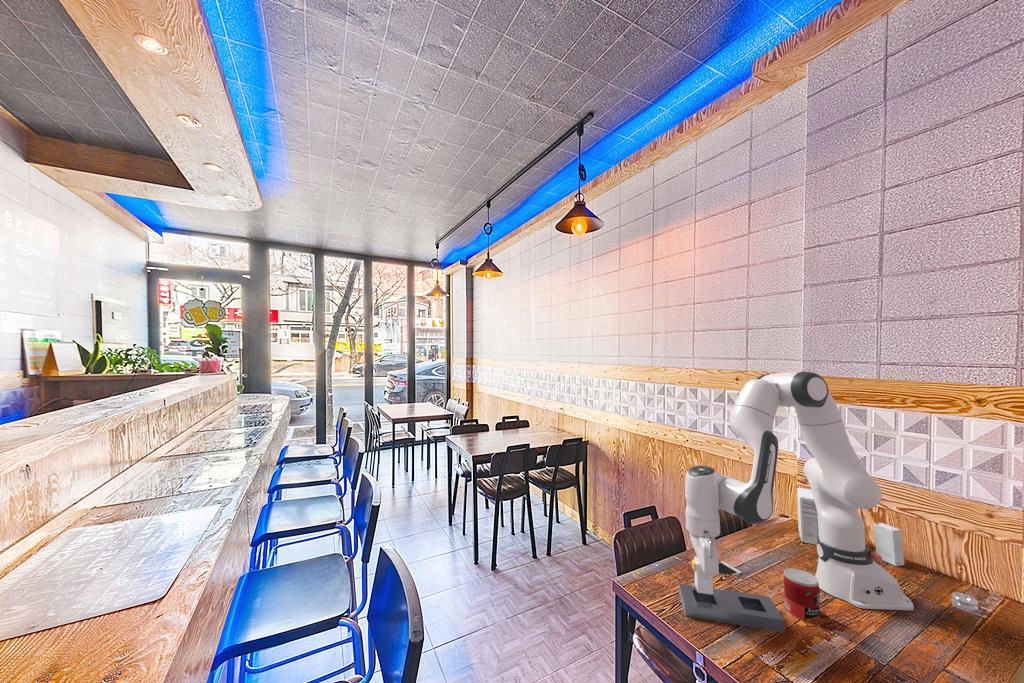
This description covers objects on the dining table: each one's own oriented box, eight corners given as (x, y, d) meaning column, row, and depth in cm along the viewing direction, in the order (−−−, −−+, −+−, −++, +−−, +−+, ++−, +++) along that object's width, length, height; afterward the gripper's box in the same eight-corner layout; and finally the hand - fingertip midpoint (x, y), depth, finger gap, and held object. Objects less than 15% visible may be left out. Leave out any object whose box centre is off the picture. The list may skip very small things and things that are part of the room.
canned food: (811, 629, 100) (810, 587, 100) (779, 611, 107) (777, 572, 107) (826, 620, 103) (824, 579, 104) (793, 603, 111) (792, 565, 111)
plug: (709, 586, 109) (709, 558, 109) (713, 594, 105) (712, 565, 105) (691, 583, 110) (691, 556, 111) (694, 592, 106) (693, 563, 107)
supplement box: (845, 551, 139) (843, 504, 140) (801, 542, 146) (799, 496, 147) (838, 537, 150) (837, 493, 151) (797, 528, 157) (796, 486, 158)
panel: (769, 610, 107) (769, 595, 108) (785, 635, 98) (784, 619, 98) (679, 597, 114) (679, 582, 114) (685, 619, 104) (685, 604, 104)
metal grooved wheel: (947, 603, 110) (972, 614, 105) (946, 592, 110) (971, 603, 106) (958, 600, 112) (983, 611, 107) (957, 590, 112) (982, 600, 107)
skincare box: (905, 565, 130) (903, 529, 130) (895, 566, 129) (893, 531, 129) (884, 556, 136) (882, 522, 136) (874, 557, 135) (873, 523, 135)
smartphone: (689, 572, 127) (689, 569, 127) (723, 563, 132) (723, 561, 132) (707, 584, 120) (707, 581, 120) (742, 574, 126) (742, 571, 126)
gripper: (724, 543, 97) (726, 597, 97) (706, 511, 117) (707, 556, 117) (698, 540, 99) (699, 593, 99) (684, 509, 119) (685, 553, 118)
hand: (703, 573), depth 108 cm, fingers closed on plug, 4 cm apart
